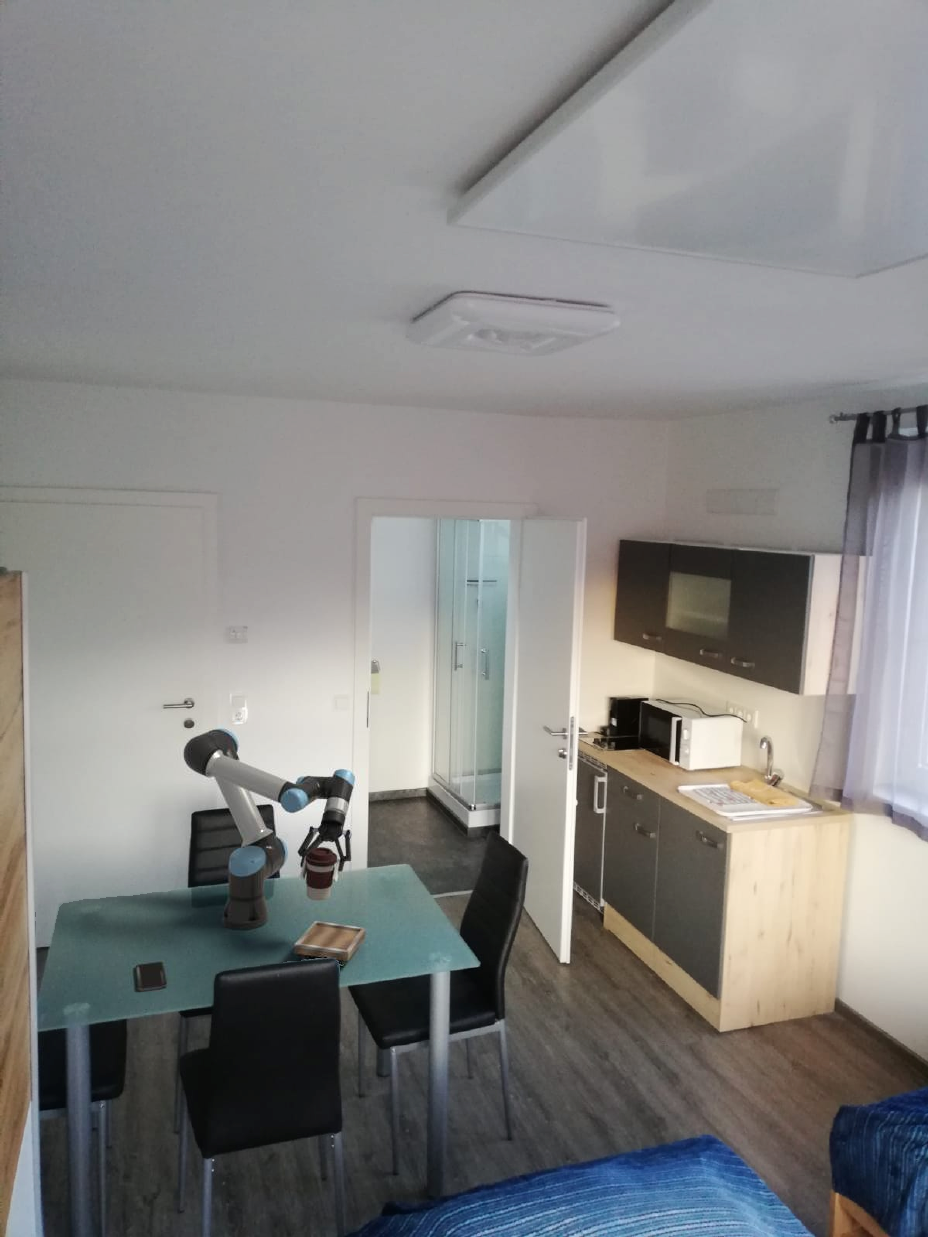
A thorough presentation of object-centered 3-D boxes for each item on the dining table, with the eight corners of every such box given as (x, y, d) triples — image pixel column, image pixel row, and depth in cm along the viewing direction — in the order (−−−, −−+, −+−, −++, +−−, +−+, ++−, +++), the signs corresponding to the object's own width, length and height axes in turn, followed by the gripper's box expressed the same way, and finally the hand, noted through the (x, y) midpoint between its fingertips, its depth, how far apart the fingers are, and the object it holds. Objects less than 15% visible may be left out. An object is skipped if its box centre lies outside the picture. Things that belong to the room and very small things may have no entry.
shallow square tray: (294, 962, 271) (294, 944, 270) (314, 938, 288) (315, 920, 287) (347, 970, 268) (348, 952, 267) (365, 945, 284) (365, 928, 284)
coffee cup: (295, 897, 281) (299, 852, 279) (314, 886, 290) (318, 842, 288) (322, 906, 277) (326, 860, 275) (339, 894, 286) (343, 850, 284)
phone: (137, 989, 250) (135, 964, 263) (137, 993, 250) (135, 968, 263) (167, 985, 253) (163, 961, 266) (167, 989, 253) (163, 964, 266)
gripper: (370, 822, 295) (355, 887, 281) (305, 816, 299) (287, 880, 285) (365, 812, 289) (350, 877, 275) (299, 806, 293) (281, 870, 279)
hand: (318, 879), depth 280 cm, fingers closed on coffee cup, 10 cm apart
